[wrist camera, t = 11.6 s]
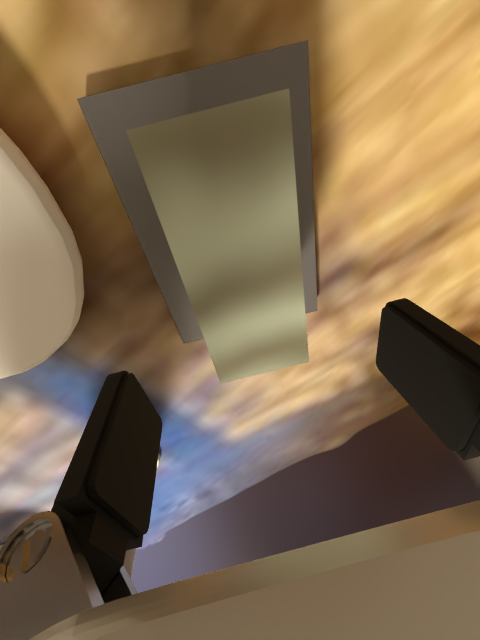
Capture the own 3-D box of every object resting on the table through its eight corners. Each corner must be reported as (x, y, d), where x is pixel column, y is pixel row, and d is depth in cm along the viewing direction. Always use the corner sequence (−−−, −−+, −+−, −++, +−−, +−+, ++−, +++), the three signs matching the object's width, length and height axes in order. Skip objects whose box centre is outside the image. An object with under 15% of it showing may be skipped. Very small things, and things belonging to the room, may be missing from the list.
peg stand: (312, 304, 30) (336, 336, 25) (184, 335, 31) (181, 374, 25) (300, 48, 18) (342, 3, 13) (85, 102, 18) (37, 81, 13)
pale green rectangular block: (147, 136, 15) (126, 130, 11) (264, 106, 15) (289, 88, 10) (217, 343, 24) (220, 383, 20) (289, 325, 24) (308, 361, 19)
